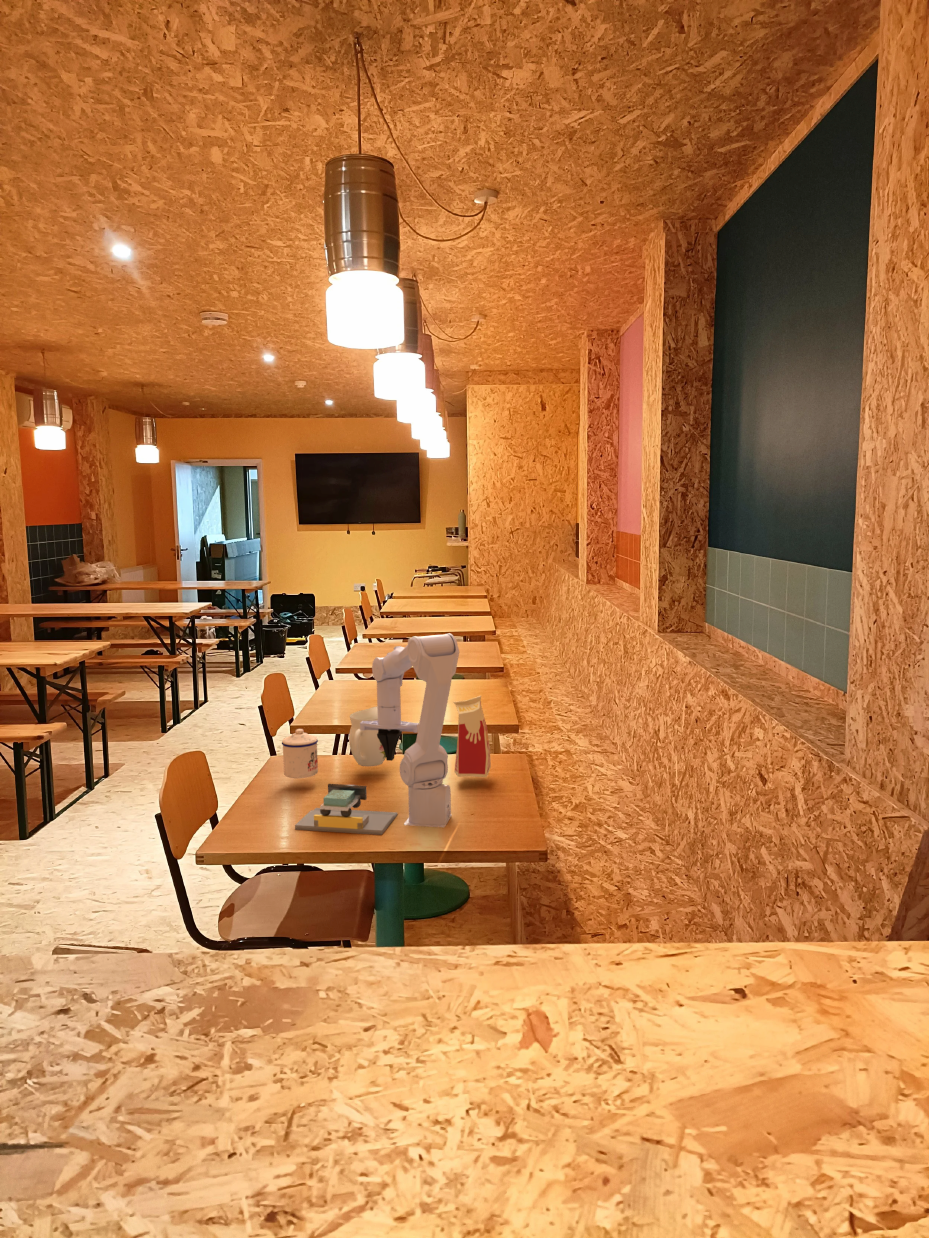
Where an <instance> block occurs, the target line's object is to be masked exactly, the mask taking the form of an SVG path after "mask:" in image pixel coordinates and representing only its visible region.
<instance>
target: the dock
mask: <svg viewBox="0 0 929 1238" xmlns="http://www.w3.org/2000/svg"><path fill="white" fill-rule="evenodd" d="M351 810H352V813H351V815H350V816H349V817H343V816H342V815H341V811H340V810H331V813H330V814H329V815H328V816H323V815H321V813H320V807H315V808H314V809H311V810H309V811H308V813H306V814H305V816H303V817H302V818H301V819H300V820H299V821H298V822H296V823H295V825H294V830H301V831H313V832H314V831H316V832H331V833H332V832H333V833H347V834H350V833H351V834H361V835H378V836H382V835H383V834H384V833H385V831H386V830H387V829H388V828H389V826H390V825H391V823H393V821H394V820H395V819H396V817H397V816H398V811H397V812H396V811H395V812H393V811H378V810H375V811H374V810H360V809H359V810H358V809H351Z"/></svg>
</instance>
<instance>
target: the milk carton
mask: <svg viewBox="0 0 929 1238" xmlns="http://www.w3.org/2000/svg"><path fill="white" fill-rule="evenodd" d="M481 700H482V695H478V696H476V697H472V698H469V699H467V700H458V701H452V704H454V705H455V707H456V710H457V714H458V720H457V721H458V725H457V730H458V731H457V742H456V753H455V763H454V774H456V776H457V777H463V778H464V777H468V778H469V777H470V778H487V777H488V775H489V773H490V769H491V768H492V766H491V747H490V746H491V745H490V739H489V732H488V726H487V721H486V718H485V714H484V710H483V708H482V701H481Z"/></svg>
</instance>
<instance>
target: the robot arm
mask: <svg viewBox="0 0 929 1238" xmlns="http://www.w3.org/2000/svg"><path fill="white" fill-rule="evenodd" d="M458 644H459V643H458V641H457V639H456V637H455V636H454V635H453V634H452V633H450V632H449V633H445V634H435V635H425V636H421V635H420V636H416V635H415V636H412V637H410V638H408V639H407V645H405V647H403V646H402V645H399V646H398V645H397V646H394V647H393V650H392V651H391V652H387V653H386V655H385V656H384V657H377V656H376V657H375V658H373V661H372V664H371V666H372V667H371V670H372V671H371V672H372V676H373V678H374V680H375V682H376V705H377V711H378V721H362V722H361V723H360V730H361V731H364V730H378V734H377V737H378V739H379V740H380V742H381V744H382V746H383V749H384V752H385V755H386V758H385V760H386V761H387V762H389V761H391V762H392V761H393V760H394V759H395V755H396V748H397V745H398V743H399V740H400V738H401V736H402V733H403V732H408V733H409V732H412V733H417V735H416V740H415V742H414V743H413V744H412V745H411V746H409V747H408V748H406V750H405V751H404V755H403V757H402V759H401V760H400V763H399V775H400V778H401V781H402V782H403V783H404V784H405V785H406V786H407V788H408V789H407V790H408V791H407V792H408V794H407V795H408V818H407V819H406V820H405V821H404V823H403V825H404V826H413V827H414V826H415V827H430V828H431V827H432V828H445V827H446V826H447V824H448V823H449V821H450V819H451V817H452V803H451V801H452V800H451V799H452V797H451V796H452V794H451V786H450V785H449V784H443V783H444V782H443V781H444V779H446V777H447V775H448V772H449V764H448V758H449V755H448V753H447V751H446V749H445V748H444V747H443V746H442V745H441V744H440V743H441V742H440V741H441V737H442V733H443V727H444V721H445V717H446V712H447V707H448V702H449V698H450V697H449V696H450V691H451V687H452V679H453V676H455V675H456V672H457V667H458V661H459V658H460V657H459V655H460V648H459V645H458ZM412 667H413V669H414V672H415V674H416V677H417V679H419V680H421V681H423V682H425V690H424V693H423V694H424V695H423V699H422V705H421V711H420V716H419V722H412V721H404V720H403V721H402V710H401V709H402V706H401V700H402V699H401V696H402V695H401V687H402V686H403V680H404V679H403V678H404V676H405V673H406V672H407V671H409V670H410V669H411V668H412Z"/></svg>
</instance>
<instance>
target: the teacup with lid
mask: <svg viewBox="0 0 929 1238" xmlns="http://www.w3.org/2000/svg"><path fill="white" fill-rule="evenodd" d="M318 742H319V740H318V738H317V736H315V735H312V734H308V733H307V732H304V729H303V728H296V729H295V733H292V734H291V735H289V736H287V737H284V738H283V739H282V741H281V745H282V757H283V758H282V759H283V775H284V776H285V777H287V778H290V779H308V778H311V777H314V776H316V775H317V774H318V772H319V766H318V765H319V764H318V759H319V758H318Z"/></svg>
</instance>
